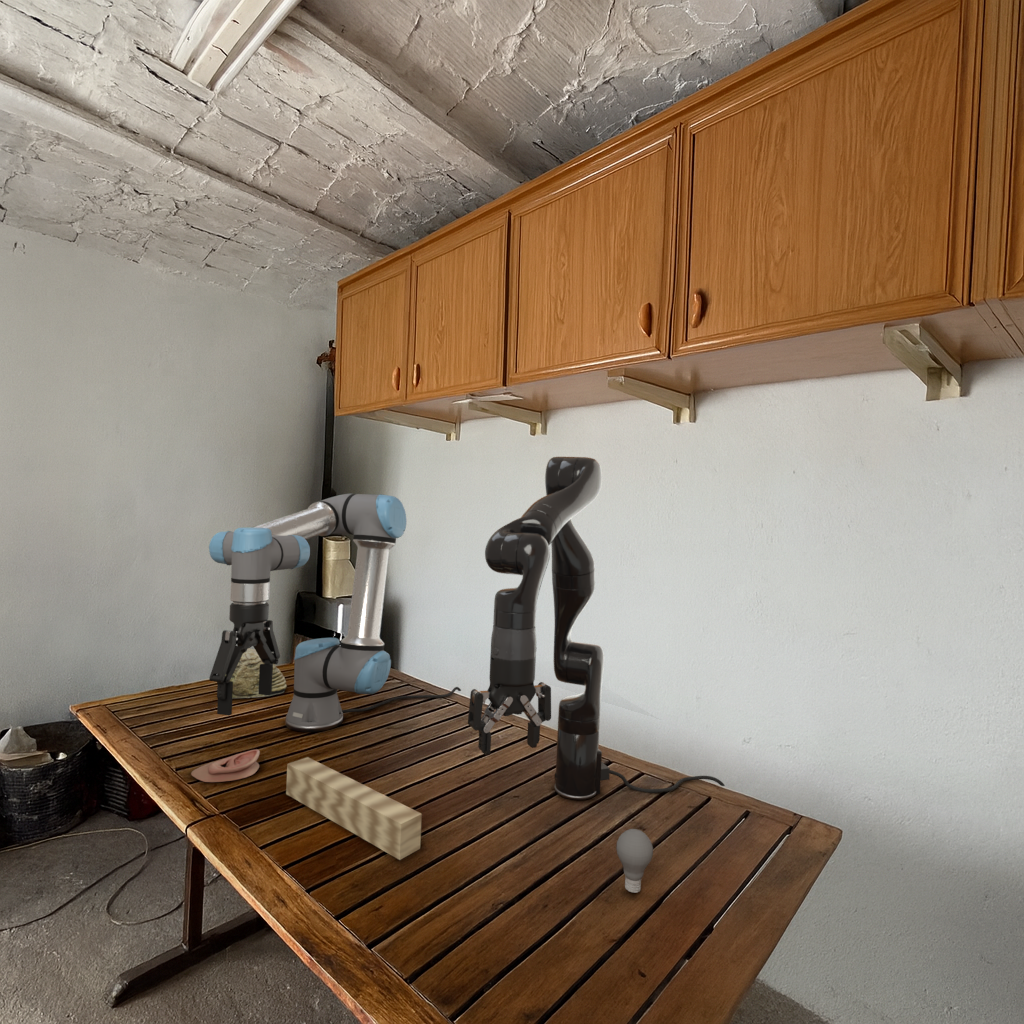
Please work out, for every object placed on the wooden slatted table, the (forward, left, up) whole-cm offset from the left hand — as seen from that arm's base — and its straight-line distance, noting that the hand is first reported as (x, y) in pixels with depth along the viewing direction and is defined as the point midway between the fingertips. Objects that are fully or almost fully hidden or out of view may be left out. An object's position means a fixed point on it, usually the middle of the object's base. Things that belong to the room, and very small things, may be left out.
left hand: (245, 704), depth 132 cm
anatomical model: (-3, -14, -20) cm, 24 cm away
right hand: (-13, +59, +3) cm, 61 cm away
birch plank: (-9, +23, -20) cm, 32 cm away
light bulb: (-27, +76, -20) cm, 83 cm away
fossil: (-36, -60, -20) cm, 73 cm away
